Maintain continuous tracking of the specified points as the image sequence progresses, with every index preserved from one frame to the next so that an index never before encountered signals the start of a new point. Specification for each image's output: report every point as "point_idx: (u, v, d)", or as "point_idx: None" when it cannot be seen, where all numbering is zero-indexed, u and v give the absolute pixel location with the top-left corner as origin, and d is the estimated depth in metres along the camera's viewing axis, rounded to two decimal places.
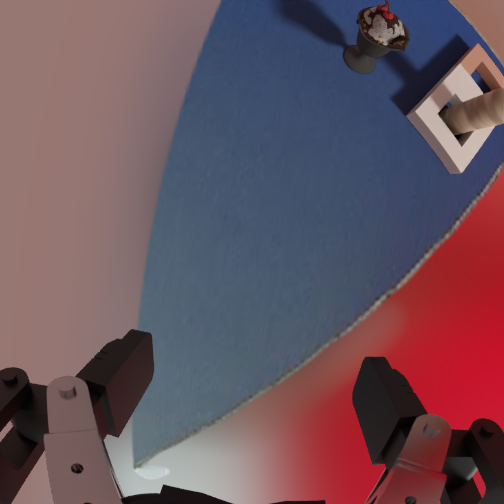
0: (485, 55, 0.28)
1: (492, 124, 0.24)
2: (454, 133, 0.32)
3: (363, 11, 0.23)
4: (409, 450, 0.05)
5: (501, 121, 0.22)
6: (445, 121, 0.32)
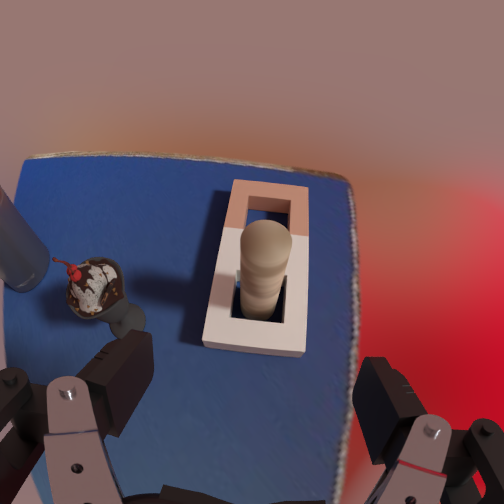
0: (249, 184, 0.42)
1: (277, 277, 0.26)
2: (268, 314, 0.33)
3: None
4: (409, 450, 0.05)
5: (278, 267, 0.24)
6: (247, 313, 0.33)
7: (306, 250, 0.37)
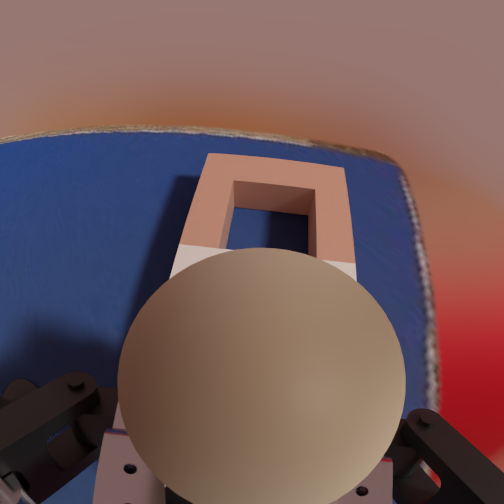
0: (235, 161, 0.22)
1: None
2: None
3: None
4: None
5: None
6: None
7: None
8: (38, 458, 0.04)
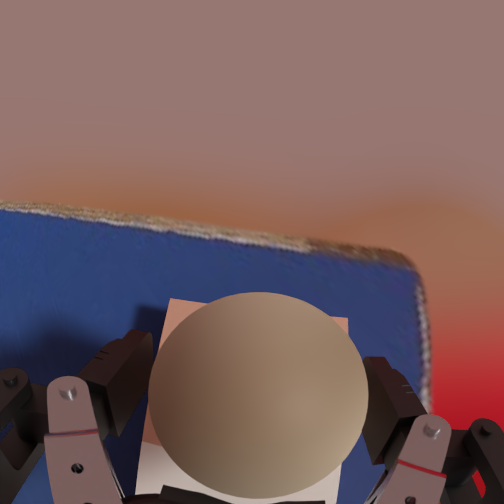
0: None
1: None
2: None
3: None
4: (409, 450, 0.05)
5: None
6: None
7: (332, 497, 0.11)
8: None
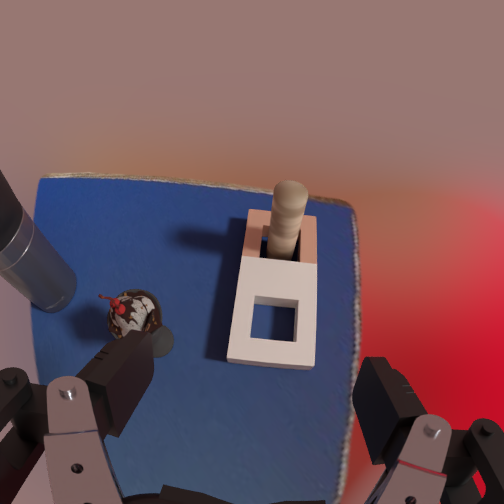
0: (263, 214, 0.47)
1: (298, 220, 0.37)
2: (288, 257, 0.44)
3: None
4: (409, 450, 0.05)
5: (299, 210, 0.35)
6: (273, 256, 0.44)
7: (315, 277, 0.41)
8: None
